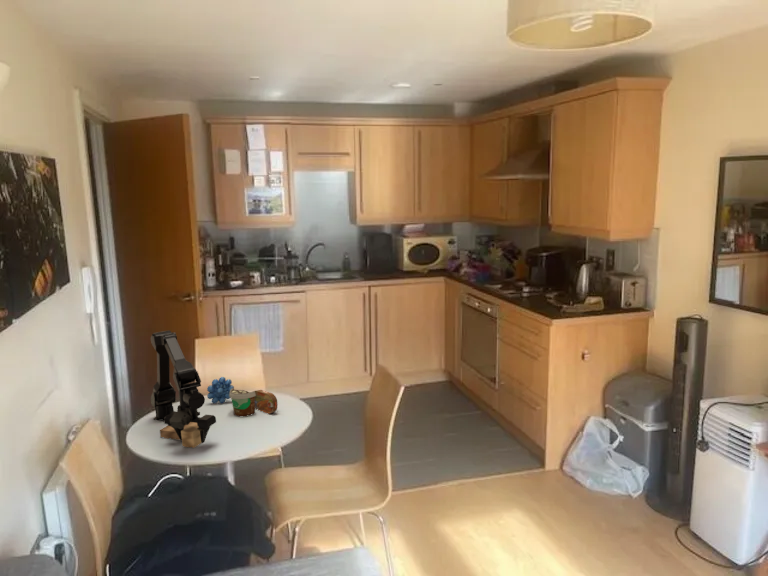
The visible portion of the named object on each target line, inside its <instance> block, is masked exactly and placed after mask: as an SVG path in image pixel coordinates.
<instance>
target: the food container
mask: <svg viewBox="0 0 768 576" xmlns="http://www.w3.org/2000/svg"><path fill="white" fill-rule="evenodd" d="M255 391H256V390H253V391H247V390H243V389H242V390H241V389H235V387H234V388H232V389H231V390H230V393H229V397H230V399H231V403H232V409H233V410H232V411H233V414H234V416H236V417H240V416H243V417H248V416H247V415H249V416H252V415H251V414H253V415H254V413H255V412H256V409H255V396H256V394H255Z"/></svg>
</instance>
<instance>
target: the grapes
mask: <svg viewBox="0 0 768 576" xmlns="http://www.w3.org/2000/svg"><path fill="white" fill-rule="evenodd" d="M232 383H233V382H232V380H231V379H226V377H224V376H220V377H219V378H218V379H217V378H215V379H212V382H211V384H210V385H209V386H207V389H206V391H207V392H208V393H207V399H209V400H211V403H212V404H217V403H218V404H219V403H220V404H224V403H226V400H230V399H231V398H230V397H229V393H230V390H231V389H232V388H234V389H235V386H234V385H232Z"/></svg>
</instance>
